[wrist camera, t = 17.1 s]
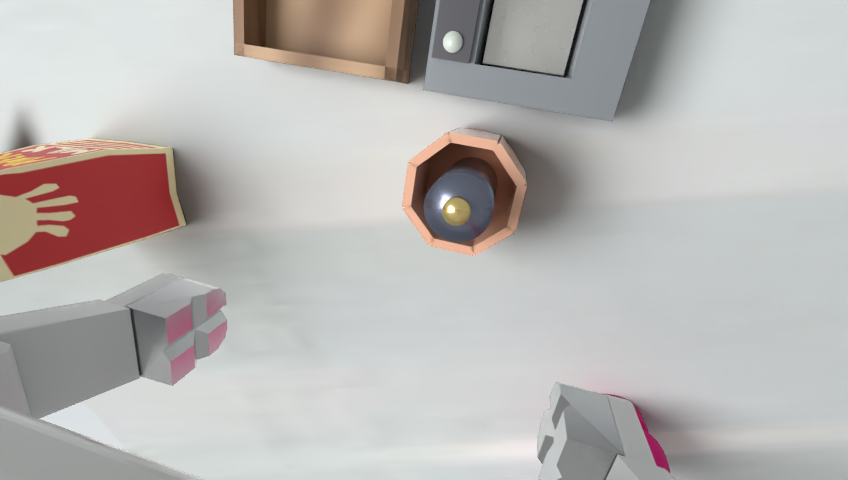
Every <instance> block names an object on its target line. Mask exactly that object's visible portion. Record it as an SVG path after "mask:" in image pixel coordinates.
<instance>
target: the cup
mask: <svg viewBox="0 0 848 480" xmlns="http://www.w3.org/2000/svg"><path fill="white" fill-rule="evenodd" d="M466 157H477V158H480V159H483V160H485V161H486V162H488V163H489V164H490V165H491V166H492V167H493V169H494V171H495V173H496V175H497V181H498V185H497V191H496V197H495V202H494V207H493V213H492V218H491V221H490V223H489V225H488V227H487V228H486V230H485V231H484V232H483V233H482V234H481V235H479V236H478V237H476V238H474V239H472V240H470V241H466V242H452V241H448V240H446V239H443V238H441V237H440V236H438V235H437V234H436V233H435V232H434V231H433V230H432V229H431V228H430V227H429V225H428V223H427V221H426V219H425V215H424V200H425V197H426V194H427V192H428V191H429V189H430V188H431V186H432V185H433V184H434V183H435V182H436V181H437V180H438V179H439V178H440V177H441V176H442V175H443V174H444V173H445V172H446V171H447V170H448V169H449V168H450V167H451V166H452V165H453V164H454V163H455V162H457V161H458V160H460V159H462V158H466ZM409 161H410V162H409V163H408V167H407V174H406V181H405V189H404V196H403V203H402V207H404V208H403V210H404V212H405V213H406V215H407V216H408V217H409V219H410V220H411V222H412V223H413V224H414V226H415V227H416V229H417V230H418V231H419V233H420V234H421V236H422V237H423V238H424V240H425V241H426V243H427V244H430V243H431V244H430V246H432V247H436V248H441V249H445V250H450V251H454V252H458V253H463V254H467V255H472V256H473V253H474V254H475V255H477V254H479V253H480V252H482V251H484V250H486V249H487V248H489V247H491V246H493V245H494V244H496V243H498V242H499V241H501V240H503V239H505V238H506V237H508V236H510V235H512V234H513V233H514V231H516V228H517V224H518V220H519V216H520V212H521V208H522V204H523V200H524V196H525V192H526V188H527V182H526V176H525V170H524V169H523V167H522V165H521V164H520V162H519V160H518V158H517V156H516V154H515V152H514V151H513V150H512V148H511V147H510V146H509V145H508V144H507V142H506V141H505V139H504V138H503V136H502V137H500V135H499V134H494V133H490V132H487V131H483V130H477V129H466V128H457V129H455V130H452V131H450V132H448V133H446V134H445V135H443V136H442V137H441V138H439V139H438V140H437V141H435V142H434V143H433V144H431V145H430V146H428V147H427V148H426V149H424V150H423V151H422V152H420V153H419V154H418V155H416V156H415V157H413V158H412V159H411V160H409Z"/></svg>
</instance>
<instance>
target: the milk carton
mask: <svg viewBox="0 0 848 480" xmlns="http://www.w3.org/2000/svg"><path fill="white" fill-rule="evenodd" d="M185 225H186V222H185V219H184V215H183V212H182V209H181V205H180V202H179V199H178V196H177V190H176V179H175V169H174V158H173V148H169V147H162V146H155V145H148V144H141V143H134V142H125V141H114V140H103V139H92V138H88V139H80V140H72V141H64V142H56V143H48V144H40V145H33V146H28V147H24V148H20V149H15V150H11V151H7V152H2V153H0V282H2V281H6V280H10V279H13V278H17V277H20V276H24V275H27V274H31V273H34V272H38V271H42V270H45V269H49V268H52V267H56V266H59V265H62V264H66V263H69V262H72V261H75V260H79V259H82V258H85V257H88V256H92V255H95V254H98V253H102V252H105V251H108V250H111V249H115V248H118V247H121V246H124V245H128V244H131V243H134V242H137V241H141V240H144V239H147V238H150V237H153V236H156V235H159V234H162V233H165V232H168V231H171V230H173V229H176V228H179V227H182V226H185Z"/></svg>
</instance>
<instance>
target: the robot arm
mask: <svg viewBox="0 0 848 480" xmlns="http://www.w3.org/2000/svg"><path fill="white" fill-rule="evenodd" d="M225 305H226V295H225V292H224V291H223V290H222V289H220V288H217V287H214V286H211V285H208V284H204V283H201V282H198V281H194V280H191V279H188V278H184V277H181V276H177V275H173V274H161V275H159V276H157V277H155V278H152V279H150V280H148V281H146V282H144V283H142V284H140V285H138V286H136V287H134V288H131V289H129V290H127V291H125V292H123V293H121V294H119V295H117V296H115V297H113V298H110V299H108V300H106V301H103V300H94V301H88V302H82V303H76V304H70V305H64V306H58V307H52V308H46V309H40V310H34V311H29V312H23V313H17V314H11V315H5V316H0V480H204V479H201V478H198V477H195V476H193V475H190V474H187V473H185V472H182V471H179V470H176V469H174V468H171V467H168V466H166V465H163V464H160V463H157V462H155V461H152V460H149V459H147V458H144V457H141V456H138V455H136V454H133V453H130V452H128V451H125V450H122V449H119V448H117V447H114V446H111V445H108V444H106V443H103V442H100V441H98V440H95V439H92V438H90V437H87V436H84V435H81V434H79V433H76V432H73V431H70V430H68V429H65V428H62V427H59V426H57V425H54V424H52V423H49V422H46V421H43V420H41V419H39V418H41V417H44V416H47V415H49V414H52V413H54V412H57V411H59V410H62V409H64V408H67V407H69V406H72V405H74V404H76V403H79V402H81V401H84V400H86V399H89V398H91V397H94V396H96V395H99V394H101V393H104V392H106V391H109V390H111V389H114V388H116V387H119V386H121V385H124V384H126V383H129V382H131V381H133V380H136V379H138V378H140V376H141V377H145V378H148V379H152V380H155V381H158V382H162V383H165V384H169V385H172V386H173V385H174V384H175V383H177V382H178V381H179V380H180V379H181V378H183V377H184V376H185V375H186V374H188V373H189V372H190V371H191V370H193V369H194V368H195V366H196V361H197V359H200V358H204V357H207V356H210V355H211V354H212V353H213V352H214V351H215V350H217V349H218V348H219V346H220V344H221V343H222V341H223V340H224V338H225V335H226V331H227V319H226V317H225V316H224V314H223V313H222V311H221V310H222V309H223V308H224V307H225ZM550 407H551V408H550V409H548V410H546V411H545V412H544V413H543V417H542V420H541V423H540V428H539V433H538V442H537V455H538V459H539V460H540V461H541V463H542V464H543V465H542V468H541V471H540V473H539V480H676V479H675V478H674V477H673V476H672V475H671V474H670V473H669V472H668V471H667V470H666V469H664V468H661V467H658V466H656V463H655V460H654V458H653V455H652V453H651V450H650V447H649V445H648V442H647V440H646V437H645V434H644V432H643V429H642V426H641V424H640V421H639V419H638V416H637V413H636V411H635V408H634V406H633V404H632V403H631V402H630V401H629V400H626V399H622V398H618V397H614V396H610V395H606V394H604V395H603V394H599V393H595V392H591V391H588V390H584V389H580V388H577V387H573V386H569V385H566V384H562V383H558V382H556V383H555V385H554V386H553V388H552V391H551V394H550Z"/></svg>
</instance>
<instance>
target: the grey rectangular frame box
mask: <svg viewBox="0 0 848 480" xmlns="http://www.w3.org/2000/svg"><path fill="white" fill-rule="evenodd" d="M491 1H492V0H436V5H435V12H434V19H433V26H432V33H431V40H430V47H429V54H428V61H427V68H426V75H425V82H424V89H423V90H426V91H432V92H438V93H444V94H450V95H456V96H462V97H468V98H474V99H481V100H487V101H493V102H499V103H505V104H511V105H517V106H523V107H529V108H535V109H541V110H547V111H553V112H559V113H565V114H571V115H577V116H583V117H589V118H595V119H601V120H607V121H613V117H614V114H615V111H616V108H617V105H618V102H619V98H620V95H621V92H622V89H623V86H624V83H625V80H626V76H627V73H628V70H629V67H630V64H631V61H632V57H633V54H634V51H635V48H636V45H637V42H638V38H639V35H640V32H641V29H642V26H643V23H644V20H645V16H646V13H647V10H648V7H649V4H650V1H651V0H586V3H585V7H584V11H583V15H582V18H581V22H580V26H579V30H578V34H577V37H576V41H575V45H574V49H573V52H572V56H571V60H570V64H569V68H568V71H567V75H566V78H563V77H557V76H550V75H543V74H537V73H530V72H524V71H517V70H511V69H504V68H498V67H491V66H484V65H480V60H481V54H482V49H483V44H484V38H485V33H486V28H487V22H488V17H489V12H490V6H491Z"/></svg>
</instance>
